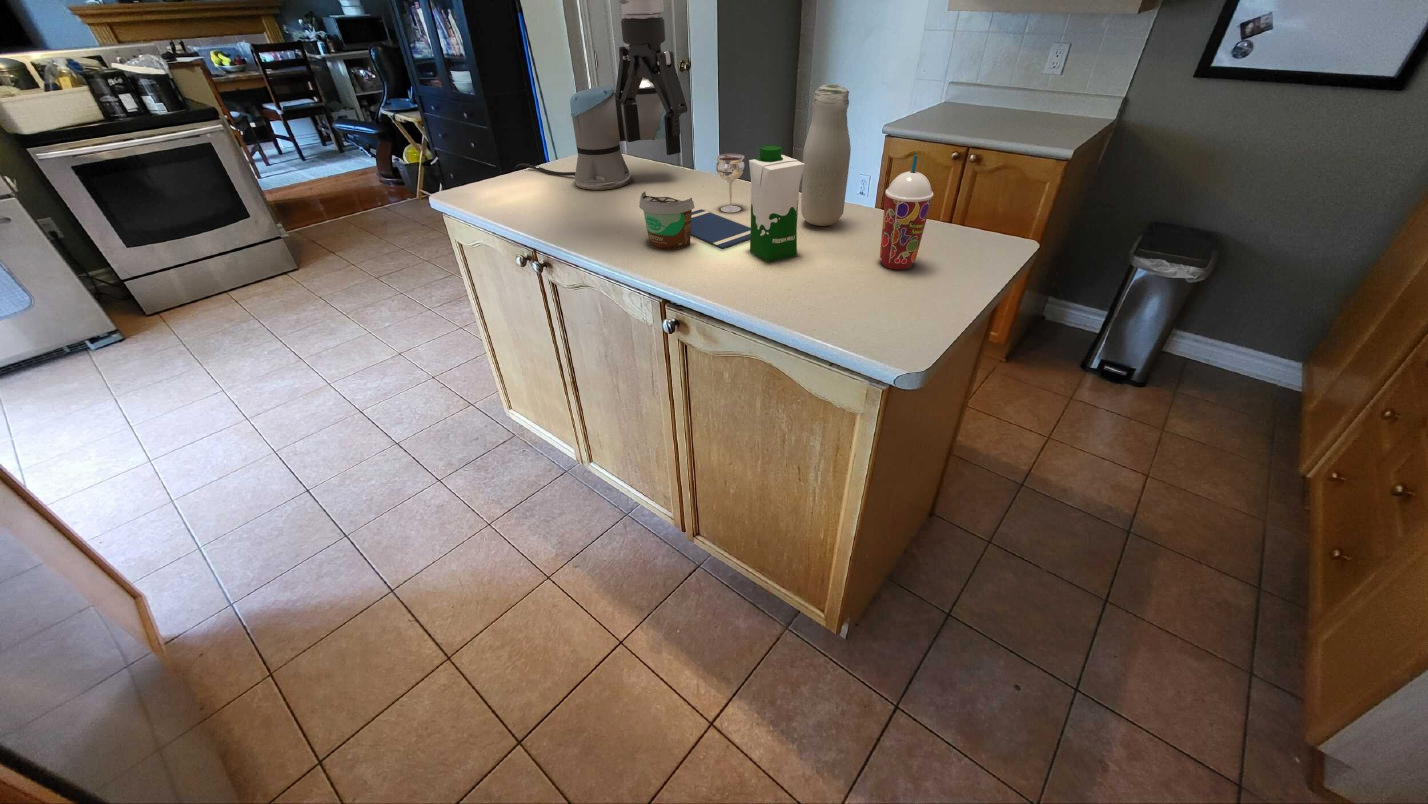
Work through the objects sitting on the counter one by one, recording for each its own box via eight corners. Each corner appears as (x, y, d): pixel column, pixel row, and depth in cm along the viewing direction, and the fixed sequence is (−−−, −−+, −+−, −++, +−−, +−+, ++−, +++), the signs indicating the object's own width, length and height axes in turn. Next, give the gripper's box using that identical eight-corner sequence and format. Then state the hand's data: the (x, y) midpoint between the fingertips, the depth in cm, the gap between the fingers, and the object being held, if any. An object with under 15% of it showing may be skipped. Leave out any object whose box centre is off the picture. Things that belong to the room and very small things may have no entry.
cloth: (661, 222, 133) (661, 220, 133) (701, 210, 139) (701, 209, 139) (722, 249, 119) (722, 247, 119) (763, 234, 125) (764, 232, 125)
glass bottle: (841, 216, 133) (856, 80, 116) (843, 232, 125) (859, 89, 108) (799, 215, 134) (808, 81, 117) (797, 231, 126) (807, 89, 109)
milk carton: (779, 242, 121) (783, 142, 109) (803, 256, 115) (811, 151, 103) (743, 250, 118) (744, 148, 106) (766, 266, 112) (770, 158, 100)
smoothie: (911, 276, 106) (933, 164, 94) (868, 267, 110) (884, 158, 98) (923, 260, 112) (946, 152, 100) (882, 252, 116) (899, 147, 104)
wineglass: (724, 215, 136) (723, 162, 129) (712, 207, 141) (711, 156, 134) (749, 210, 138) (749, 158, 131) (737, 203, 143) (736, 152, 136)
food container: (632, 246, 121) (626, 199, 115) (647, 237, 126) (642, 190, 120) (682, 255, 117) (679, 207, 111) (696, 245, 121) (694, 197, 115)
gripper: (587, 15, 104) (603, 139, 117) (667, 21, 89) (675, 163, 102) (621, 12, 108) (634, 133, 121) (704, 18, 92) (708, 155, 105)
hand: (653, 147), depth 111 cm, fingers open, 13 cm apart
